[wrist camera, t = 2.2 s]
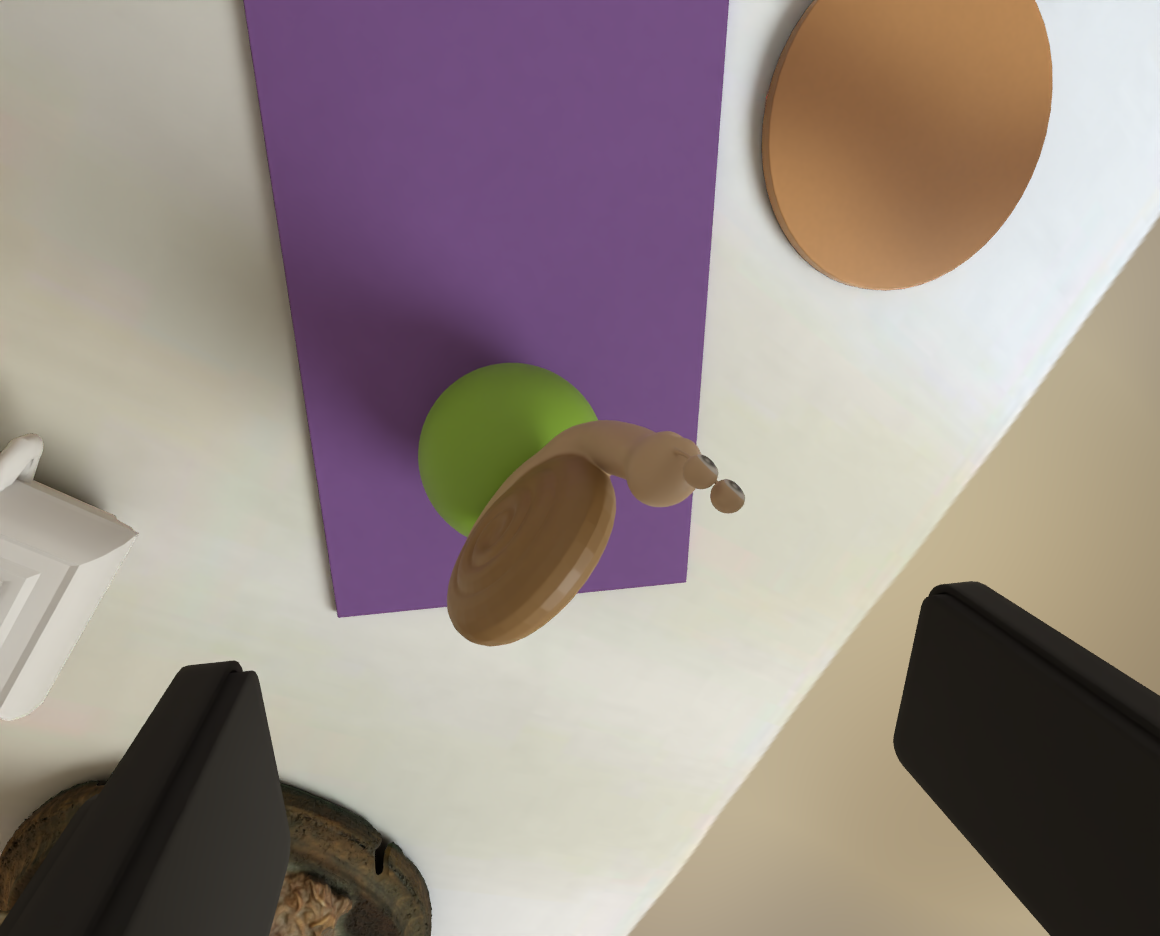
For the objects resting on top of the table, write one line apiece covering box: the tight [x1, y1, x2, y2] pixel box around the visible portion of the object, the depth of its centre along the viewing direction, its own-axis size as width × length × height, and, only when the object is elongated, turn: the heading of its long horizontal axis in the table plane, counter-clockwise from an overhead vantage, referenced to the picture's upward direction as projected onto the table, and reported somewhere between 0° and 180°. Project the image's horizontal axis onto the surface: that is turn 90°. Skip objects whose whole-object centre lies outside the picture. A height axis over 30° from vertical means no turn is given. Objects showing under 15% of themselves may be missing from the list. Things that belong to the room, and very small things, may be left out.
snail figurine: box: [418, 363, 745, 646], centre depth 15 cm, size 5×6×12 cm
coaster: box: [762, 0, 1052, 290], centre depth 20 cm, size 10×10×1 cm
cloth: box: [243, 0, 729, 618], centre depth 20 cm, size 20×13×1 cm, turn 0°
